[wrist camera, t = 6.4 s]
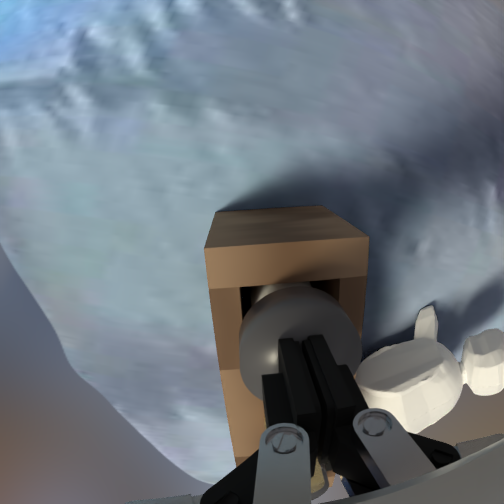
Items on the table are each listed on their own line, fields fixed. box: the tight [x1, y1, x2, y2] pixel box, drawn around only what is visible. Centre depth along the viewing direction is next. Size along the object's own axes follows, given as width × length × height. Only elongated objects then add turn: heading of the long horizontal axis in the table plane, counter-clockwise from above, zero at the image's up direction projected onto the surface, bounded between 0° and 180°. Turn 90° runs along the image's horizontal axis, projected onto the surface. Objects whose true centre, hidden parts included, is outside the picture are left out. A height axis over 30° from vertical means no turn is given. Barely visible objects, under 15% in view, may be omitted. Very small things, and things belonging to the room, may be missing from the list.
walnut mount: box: [204, 205, 369, 487], centre depth 20 cm, size 7×20×8 cm, turn 4°
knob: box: [239, 281, 362, 401], centre depth 16 cm, size 5×5×9 cm
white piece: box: [355, 305, 504, 434], centre depth 22 cm, size 9×8×15 cm
